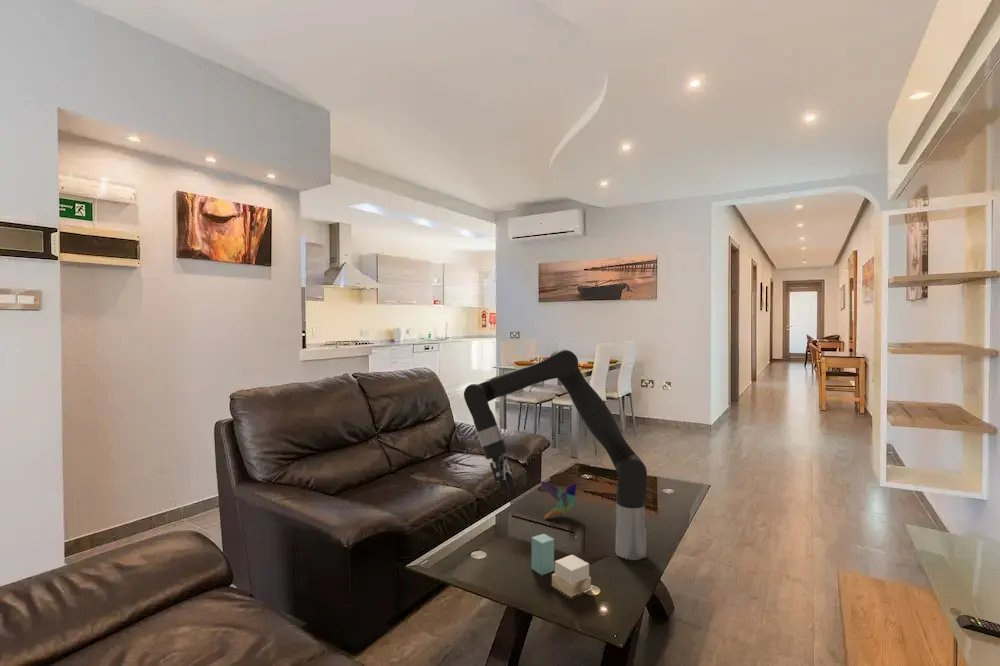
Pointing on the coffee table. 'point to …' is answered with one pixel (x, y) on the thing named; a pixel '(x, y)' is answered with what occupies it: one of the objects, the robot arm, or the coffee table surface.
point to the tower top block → (572, 569)
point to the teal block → (542, 554)
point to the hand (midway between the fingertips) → (509, 490)
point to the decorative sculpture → (561, 498)
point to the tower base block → (569, 588)
